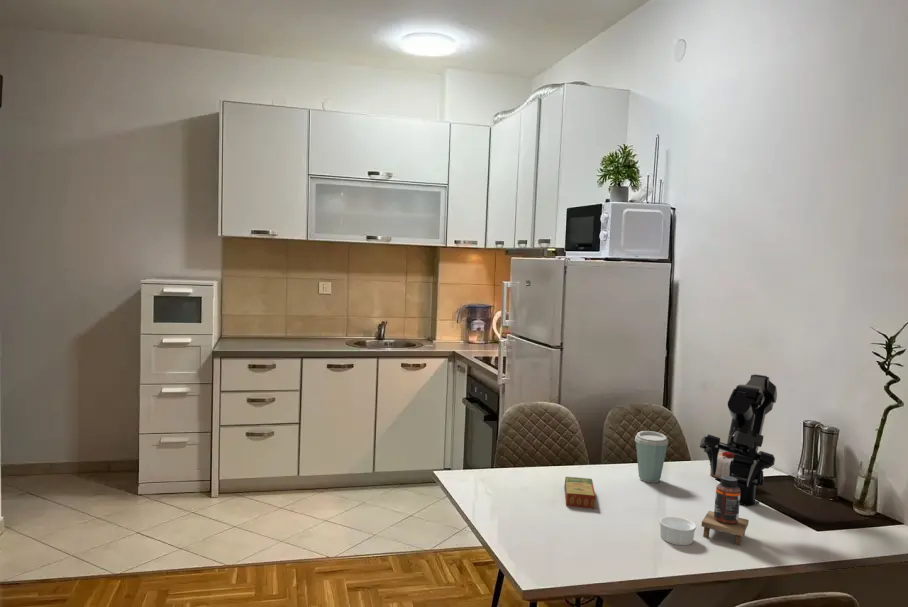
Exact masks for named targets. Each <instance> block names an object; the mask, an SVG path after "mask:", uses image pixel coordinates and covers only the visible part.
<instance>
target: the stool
mask: <svg viewBox="0 0 908 607" xmlns="http://www.w3.org/2000/svg"><path fill="white" fill-rule="evenodd" d="M748 526H749V519H747V518H743V517H738V522H737V523H735V524H725V523H722V522H719V521H717V520H716V519H715V518H714V511H712V510H708V511H707V513H706V514H705V515H704V517H703V519H702V520H701V527H703V534H702V535H703V537H704V538H707V539H709V538H710V533H711V532H710V531H711V529H712V530H715V531H719V532H723V533H728V534H732V535H735V536H734V545H736V546H741V543H742V542H741V541H742V537H745V536H746V535H745V534H746V530H747V528H748Z"/></svg>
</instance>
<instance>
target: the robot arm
mask: <svg viewBox="0 0 908 607" xmlns="http://www.w3.org/2000/svg"><path fill="white" fill-rule="evenodd" d="M777 399H778V390H777V386H776V385H775V384H774V383H773V382H771V380H770V377H769V376H767V375H761V374H756V373H755V374H751V376H750V378H749V380H748V382H746V384H738V385H736V387H735V388H733V390H732V392H731V394H730V395H729V398H728V401H727V408H728V410H729V413H730V416H731V422H730V427H729V431H728V437H727V442H726V443H724V442H721V438H720V437H718V436H714V435H712V434H706V435H704V436H703V437H702V438H701V439H700V444H699V448H701V449H703V452H705V453H706V454H707V457H708V460H709V465H710V466H711V468H710V469H711V470H712V475H713V476H714V475H715V473H716V468H717V458H718V453H719V452H720V450H721V451H724V452H730V453H733V454H735V455H734V459H733V460H731V463H730V477H734V478H736V479H737V486H738V487H739V488H740V491H741V493H740V504H739V505H743V506H745V507H748V506H753V505H757V504H758V505H759V504H760V501H758V500H756V492H757V487H760V486H763V485H764V471H763V470H764V469H769V468H771V467H772V466H774V465H775V462H776V461H775V460H776V458H775V456H774V454H772V453H769V452H766V451H762V450H760V451H759V448H761V447H762V445H763V443H764V435H762V432H763V429H764V428H763V427H764V423H765V418H766V415H767V414H768V413H769V412H771V411H772V410H773V407H774V405H775V404H776V402H777ZM713 476H712V477H713Z"/></svg>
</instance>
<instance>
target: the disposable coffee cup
mask: <svg viewBox="0 0 908 607" xmlns="http://www.w3.org/2000/svg"><path fill="white" fill-rule="evenodd" d="M634 436H635V438H634V442H635V447H636V448H635V449H636V457H637V468H638V477H639V480H640V479H641V480H640V481H642V480H643V481H642V482H645V481H646V482H645V483H650V482H651V483H652V484H653V483H655V484H656V483H659V482H660V480H661V478H662V473H663V468H664V463H665V458H666V453H667V448H668V445H669V439H668V438H667V435H664V433H661V432H657V431H652V430H651V431H650V430H641V431H639V432H637V434H636V435H634ZM651 483H650V484H651Z"/></svg>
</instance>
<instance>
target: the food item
mask: <svg viewBox="0 0 908 607" xmlns="http://www.w3.org/2000/svg"><path fill="white" fill-rule="evenodd" d="M734 455H735V454H733V453H730V452H727V451H724V452H723V451H719V453H718V458H717V468H716V473H715V475H714V476H713V475H712V470H711V465H710V467H709V468H710V469H709V470H710V474H709V475H710V476H711V477H713V478H716V479H719V480H721V477H722V476H730V463H731V460H733V459H734Z"/></svg>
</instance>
